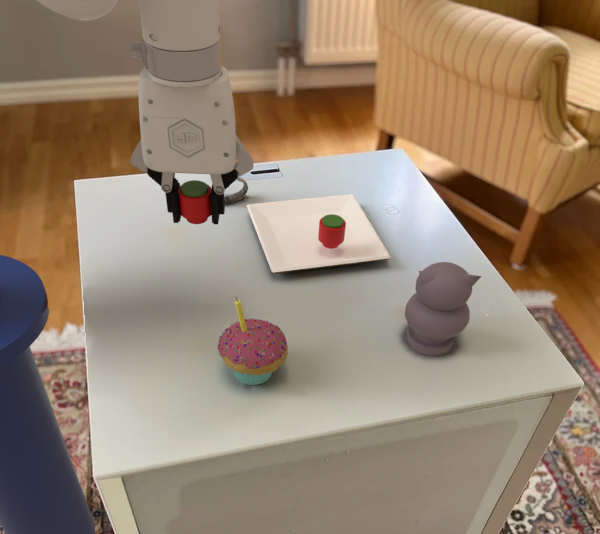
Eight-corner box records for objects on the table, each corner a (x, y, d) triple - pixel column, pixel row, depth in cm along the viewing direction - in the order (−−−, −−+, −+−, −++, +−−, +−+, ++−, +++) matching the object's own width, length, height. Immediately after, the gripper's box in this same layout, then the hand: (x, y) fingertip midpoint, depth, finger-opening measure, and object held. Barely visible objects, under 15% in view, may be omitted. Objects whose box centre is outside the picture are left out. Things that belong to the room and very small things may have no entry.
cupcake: (213, 390, 79) (207, 317, 70) (227, 344, 85) (224, 271, 76) (281, 400, 79) (284, 327, 70) (291, 353, 84) (295, 280, 76)
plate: (352, 203, 110) (353, 192, 108) (389, 267, 98) (391, 256, 97) (246, 214, 106) (246, 203, 105) (271, 282, 94) (272, 271, 93)
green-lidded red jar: (188, 231, 76) (185, 199, 73) (175, 214, 78) (171, 183, 75) (219, 222, 77) (217, 191, 74) (205, 206, 80) (202, 175, 76)
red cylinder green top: (318, 251, 97) (320, 227, 93) (317, 236, 99) (319, 212, 96) (344, 252, 97) (347, 228, 94) (342, 237, 99) (345, 213, 96)
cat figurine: (456, 322, 90) (478, 251, 81) (465, 361, 85) (489, 289, 76) (397, 319, 90) (412, 247, 81) (401, 357, 85) (418, 285, 76)
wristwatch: (210, 199, 109) (208, 172, 105) (243, 192, 111) (242, 165, 107) (218, 209, 107) (217, 182, 103) (251, 202, 109) (251, 174, 105)
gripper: (91, 68, 61) (122, 232, 75) (265, 76, 62) (264, 237, 75) (107, 40, 66) (133, 198, 80) (267, 47, 67) (266, 203, 80)
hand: (197, 216), depth 78 cm, fingers closed on green-lidded red jar, 4 cm apart
